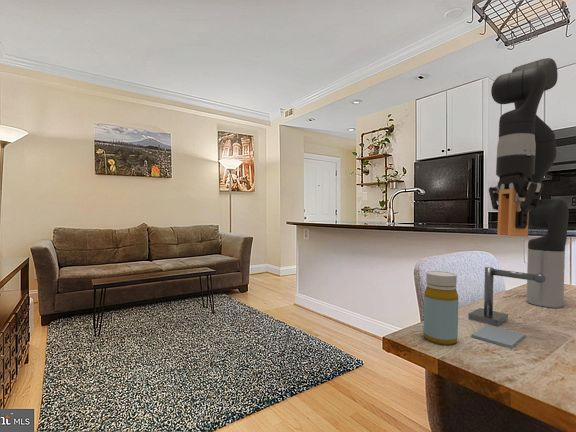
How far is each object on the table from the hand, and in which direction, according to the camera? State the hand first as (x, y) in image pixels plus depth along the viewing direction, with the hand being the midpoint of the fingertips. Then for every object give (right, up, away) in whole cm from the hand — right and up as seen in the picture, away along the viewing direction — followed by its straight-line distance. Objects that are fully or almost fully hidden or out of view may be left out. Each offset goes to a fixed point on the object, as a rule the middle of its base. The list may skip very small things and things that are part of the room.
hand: (512, 227), depth 77 cm
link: (0, -2, 0) cm, 2 cm away
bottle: (-19, -25, -4) cm, 32 cm away
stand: (+4, -25, +7) cm, 27 cm away
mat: (-5, -25, -2) cm, 26 cm away
